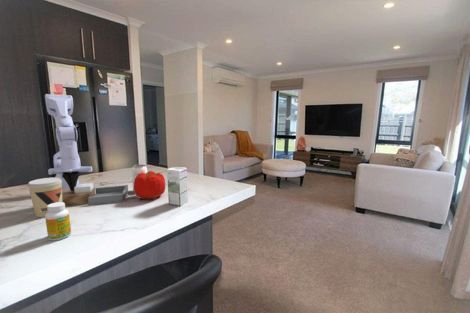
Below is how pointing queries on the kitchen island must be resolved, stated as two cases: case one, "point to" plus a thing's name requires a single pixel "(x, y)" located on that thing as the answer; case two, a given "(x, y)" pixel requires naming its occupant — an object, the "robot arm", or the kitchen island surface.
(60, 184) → the coffee cup
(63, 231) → the supplement bottle
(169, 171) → the syrup box
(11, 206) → the kitchen island surface
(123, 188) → the tray
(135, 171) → the can
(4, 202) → the kitchen island surface
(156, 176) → the tomato
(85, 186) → the white block
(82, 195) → the brown shallow box
